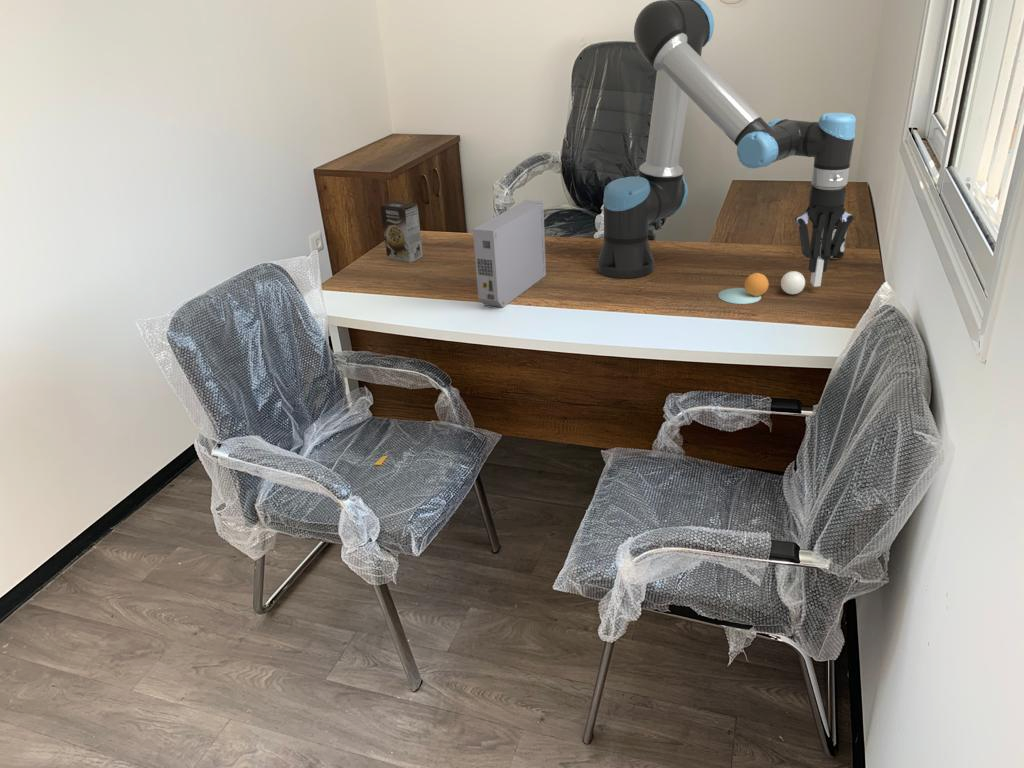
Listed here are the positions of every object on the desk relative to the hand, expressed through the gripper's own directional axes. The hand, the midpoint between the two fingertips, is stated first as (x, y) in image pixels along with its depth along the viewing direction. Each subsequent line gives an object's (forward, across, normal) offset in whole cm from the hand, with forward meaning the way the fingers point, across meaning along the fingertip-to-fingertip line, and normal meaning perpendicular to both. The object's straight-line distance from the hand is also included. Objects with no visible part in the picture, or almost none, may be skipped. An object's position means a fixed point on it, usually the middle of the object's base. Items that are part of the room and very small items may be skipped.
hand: (815, 284), depth 182 cm
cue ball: (-1, -6, 0) cm, 6 cm away
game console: (+2, -72, +13) cm, 73 cm away
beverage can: (+2, +13, +24) cm, 27 cm away
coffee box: (+2, -104, +45) cm, 113 cm away
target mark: (+2, -18, 0) cm, 18 cm away
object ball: (-1, -14, 0) cm, 14 cm away
